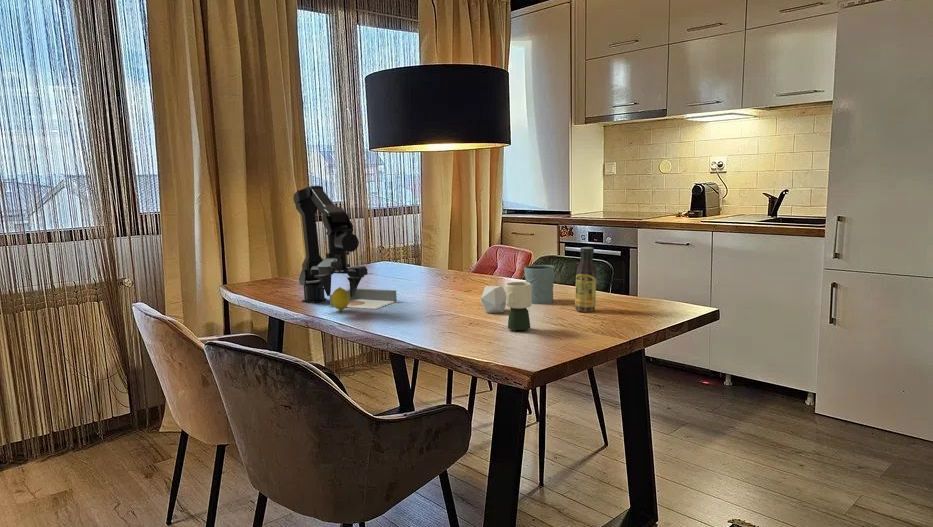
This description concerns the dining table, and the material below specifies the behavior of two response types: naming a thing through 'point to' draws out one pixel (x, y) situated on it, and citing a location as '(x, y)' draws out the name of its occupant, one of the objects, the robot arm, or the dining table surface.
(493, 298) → the die
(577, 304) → the sauce bottle
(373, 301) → the arena
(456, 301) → the dining table surface
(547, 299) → the blue grey cup
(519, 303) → the character mug
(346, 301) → the lemon
